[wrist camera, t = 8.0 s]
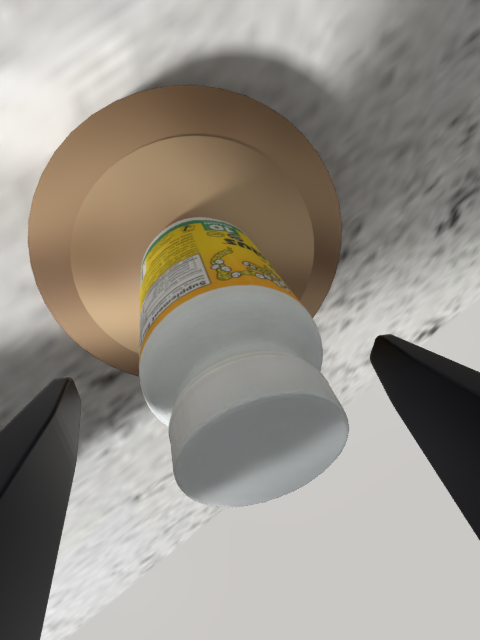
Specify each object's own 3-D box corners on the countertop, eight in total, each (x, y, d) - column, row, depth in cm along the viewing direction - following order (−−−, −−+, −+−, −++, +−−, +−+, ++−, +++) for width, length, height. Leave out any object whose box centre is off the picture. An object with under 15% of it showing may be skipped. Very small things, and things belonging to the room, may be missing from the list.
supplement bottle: (113, 269, 14) (70, 485, 6) (209, 185, 13) (310, 308, 5) (196, 339, 17) (240, 542, 9) (278, 275, 16) (407, 439, 8)
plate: (301, 340, 22) (317, 365, 20) (86, 369, 19) (78, 401, 17) (342, 95, 14) (376, 93, 12) (-9, 80, 11) (-44, 74, 9)
